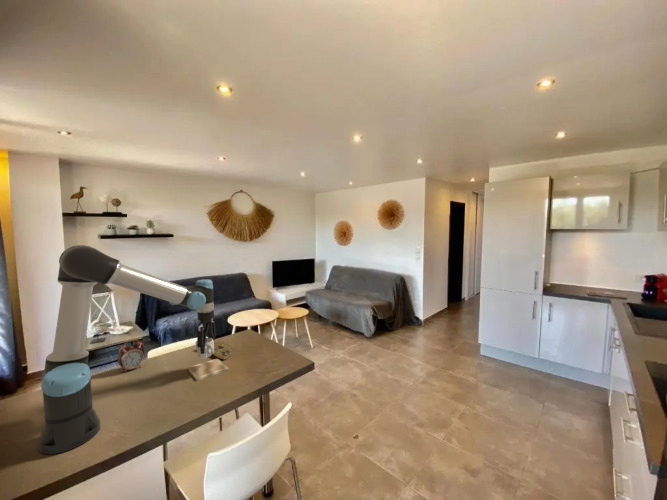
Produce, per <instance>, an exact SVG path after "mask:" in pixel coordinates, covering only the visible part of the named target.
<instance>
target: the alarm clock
mask: <svg viewBox="0 0 667 500" xmlns="http://www.w3.org/2000/svg"><path fill="white" fill-rule="evenodd" d="M134 341H135V343H134V345H132V344H131V345H129V346H128V345H126V344H127V343H130V342H134ZM144 347H145V345H144V343H143V341H142V340H140V341H139V340H138V339H131V340H128V341H126V342H124V343H123V345H121V346H120V347H119V349H118V353H119V355H118V357H117V363H118V365H119V366H120V367H121V368H122V369H123V371H124V373H127V370H128V371H129V370H134V369H136V368H138V367H139V369H140V368H142V367H141V365H142V364H143V363H144V360H145V355H146V354H145V351H144V350H143V349H144ZM141 361H142V362H141Z"/></svg>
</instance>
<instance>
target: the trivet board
mask: <svg viewBox="0 0 667 500" xmlns="http://www.w3.org/2000/svg"><path fill="white" fill-rule="evenodd" d="M187 371H188V372H189V373H190V375H191V376H192V377H193V378H194V380H195V381H200V380H203V379H206V378H209V377H212V376H216V375H219V374H220V373H223V372H226V371H229V367H228V366H227V365H226V364H224V363H223V362H222V361H221V359H220V358H217V357H216V358H215V359H211V360H208V361H207V360H206V361H204V362H201V363H198V364H194V365H192V366H191V365H190V366H188V367H187Z"/></svg>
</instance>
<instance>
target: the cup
mask: <svg viewBox="0 0 667 500" xmlns="http://www.w3.org/2000/svg"><path fill="white" fill-rule="evenodd" d="M195 346H196V353H197V357H198V358H199V359H201V353H200V347H197V340H196V341H195ZM205 346H206V349H207V358H210V357H211V356H212V355H213V353H214V347H213V339H212V338H208V337H206V344H205Z"/></svg>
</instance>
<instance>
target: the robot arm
mask: <svg viewBox="0 0 667 500" xmlns="http://www.w3.org/2000/svg"><path fill="white" fill-rule="evenodd" d="M58 265H59V266H58V267H59V268H58V275H57V283H59V284H60V285H61V286H62V287H61V294H60V299H59V300H60V301H59V306H58V307H59V308H58V315H57V322H56V329H55V334H54V335H55V336H54V341H53V347H52V352H51V353H50V354H48V355H47V356H46V357H45V364H44V369H43V371H42V373H41V385H40V386H41V391H42V401H43V410H44V411H43V412H44V413H43V415H44V425H43V429H42V432H41V434H40V438H39V440H38V450H39V452H40V453H42V454H44V455H53V454H56V455H57V454H59V453H64V452H67V451H70V450H72V449H75V448H77V447H80V446H81V445H84V444H85V443H86V442H88V441H89V440H91V439H92V438H94V437H95V436H96V435H97V434H98V433H99V432H100V429H101V420H100V417H99V416H98V414H97V412H96V410H95V409H94V407H93V397H92V396H93V395H92V380H91V379H92V378H91V377H92V372H91V370H90V369H91V368H90V366H89V365H88V364H89V363H88V361H89V356H90V351H88V350H86V349H85V347H86V340H87V334H88V332H87V331H88V326H89V319H90V311H91V304H92V298H93V292H94V286H96V285H97V284H101V285H104V286H106V285H109V284H111V285H115V286H118V287H121V288H124V289H128V290H129V291H130V290H131V291H134V292H138V293H140V294H144V295H147V296H151V297H154V298H157V299H160V300H162V301H163V300H164V301H167V302H169V304H170V305H171V306H174V305H175V306H176V305H180V306H182V307H187V308H188V309H189V310H190V309H191V310H194V311H196V312H197V320H198V321H199V322H200V323H199V326H196V331H197V332H196V335H197V337H196V338H197V339H196V341H197V347H200V353H201V358H200V360H204V361H207V360H208V357H207V349H206V346H205V344H206V338H212V339H213V347H214V341H216V338H217V337H216V336H217V333H216V324H215V323H216V319H215V311H214V309H215V308H214V306H215V304H214V284H213V280H212V279H208V278H207V279H206V278H205V279H204V278H203V279H198V280H196V281H195V285H189V286H183V285H180V284H178V283H174V282H172V281H170V280H166V279H164V278H161V277H158V276H155V275H152V274H150V273H148V272H147V273H146V272H145V271H142V270H138V269H137V268H133V267H130V266H127V265H125V264H122V263H121V261H120V260H119V259H116V258H114V257H111V256H109V255H107V254H106V253H104V252H101V250H98V249H96V248H95V247H92V246H89V245H84V244H83V245H80V244H77V245H73V246H71V247H68V248H66V249H65V250H64V251H63V252H62V253H61V254H60V256H59V259H58Z"/></svg>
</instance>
